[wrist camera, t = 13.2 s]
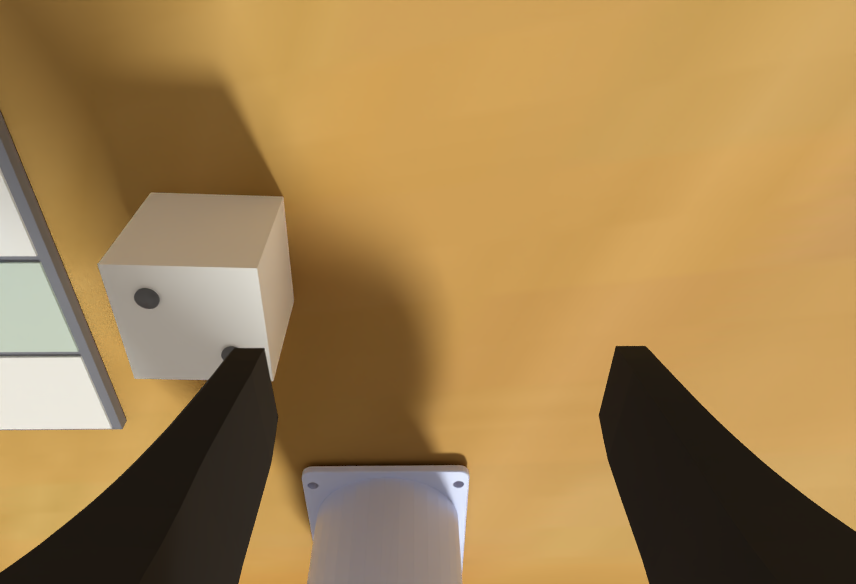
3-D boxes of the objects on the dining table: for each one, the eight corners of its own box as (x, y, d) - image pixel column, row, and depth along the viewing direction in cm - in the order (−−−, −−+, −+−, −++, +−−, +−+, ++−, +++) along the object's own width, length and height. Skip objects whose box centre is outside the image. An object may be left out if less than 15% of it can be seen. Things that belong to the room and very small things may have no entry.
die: (294, 299, 24) (272, 383, 20) (174, 296, 24) (130, 380, 20) (283, 195, 21) (256, 270, 18) (148, 191, 21) (92, 266, 18)
